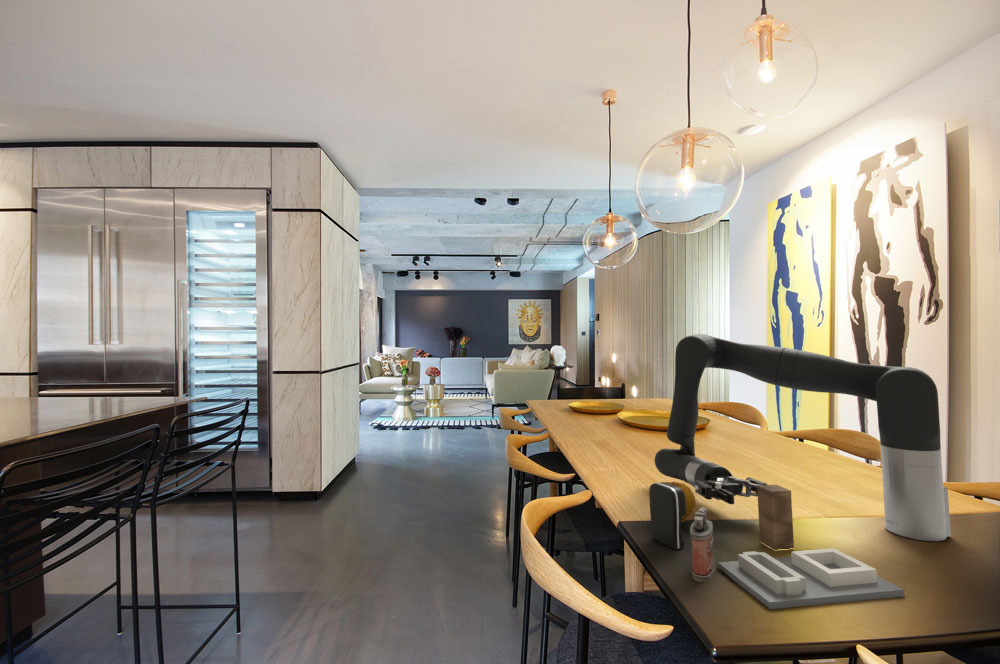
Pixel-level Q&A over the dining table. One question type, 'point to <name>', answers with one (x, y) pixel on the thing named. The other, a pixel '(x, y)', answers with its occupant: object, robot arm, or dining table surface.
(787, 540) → the tall brown wooden block
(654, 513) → the battery charger
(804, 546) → the dining table surface
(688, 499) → the apple
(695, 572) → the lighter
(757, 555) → the holder board
